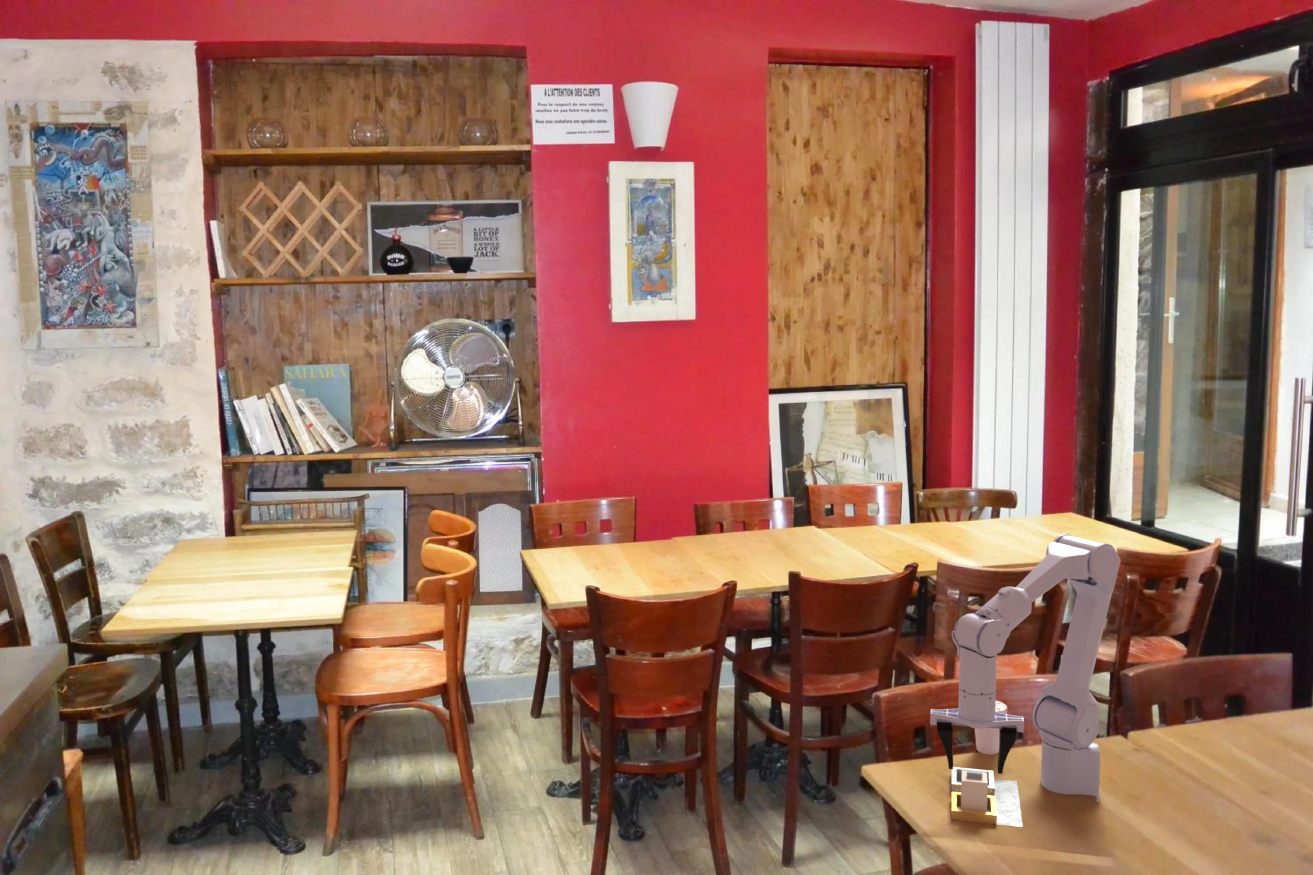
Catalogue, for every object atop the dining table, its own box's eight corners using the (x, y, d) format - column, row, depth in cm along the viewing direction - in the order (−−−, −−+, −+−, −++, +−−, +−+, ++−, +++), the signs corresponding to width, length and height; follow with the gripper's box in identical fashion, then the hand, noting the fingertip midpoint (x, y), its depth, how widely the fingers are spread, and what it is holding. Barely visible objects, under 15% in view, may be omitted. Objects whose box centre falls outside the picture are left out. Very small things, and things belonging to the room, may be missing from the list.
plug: (985, 806, 183) (986, 767, 182) (986, 818, 179) (987, 778, 178) (960, 804, 184) (961, 765, 183) (961, 815, 180) (962, 775, 179)
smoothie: (1001, 748, 208) (1004, 676, 206) (1009, 762, 202) (1011, 689, 200) (966, 747, 209) (969, 675, 207) (973, 761, 203) (975, 688, 201)
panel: (1016, 786, 192) (1017, 772, 192) (1022, 833, 176) (1023, 818, 176) (951, 779, 195) (951, 766, 195) (951, 825, 179) (951, 810, 179)
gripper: (930, 694, 176) (928, 774, 178) (1026, 701, 173) (1023, 783, 175) (931, 678, 183) (929, 756, 185) (1023, 685, 179) (1020, 765, 181)
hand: (975, 768), depth 180 cm, fingers open, 7 cm apart
